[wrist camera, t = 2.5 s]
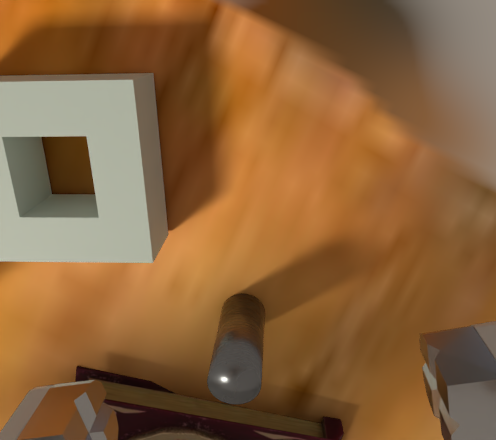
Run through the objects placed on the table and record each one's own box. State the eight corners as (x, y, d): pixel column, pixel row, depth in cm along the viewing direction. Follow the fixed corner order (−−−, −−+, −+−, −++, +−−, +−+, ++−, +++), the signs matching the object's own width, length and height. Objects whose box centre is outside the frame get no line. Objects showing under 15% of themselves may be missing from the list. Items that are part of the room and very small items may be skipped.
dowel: (265, 331, 33) (261, 405, 26) (222, 330, 33) (208, 403, 26) (264, 294, 32) (260, 361, 25) (220, 293, 32) (205, 360, 25)
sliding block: (168, 234, 30) (153, 262, 26) (19, 233, 31) (-17, 261, 27) (153, 72, 26) (132, 79, 23) (-17, 75, 27) (-64, 82, 23)
